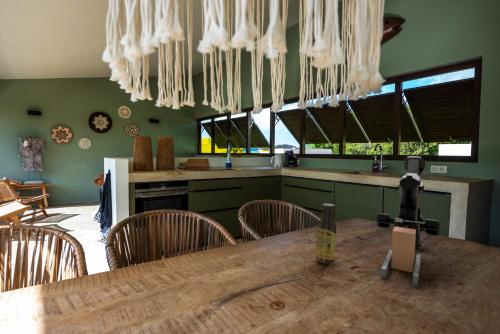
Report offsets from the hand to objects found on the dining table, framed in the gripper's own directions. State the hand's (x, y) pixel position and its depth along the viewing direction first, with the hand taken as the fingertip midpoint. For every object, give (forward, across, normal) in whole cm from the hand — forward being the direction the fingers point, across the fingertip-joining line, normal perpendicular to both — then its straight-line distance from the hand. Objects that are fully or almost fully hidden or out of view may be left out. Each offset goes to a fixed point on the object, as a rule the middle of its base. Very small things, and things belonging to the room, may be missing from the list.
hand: (404, 245), depth 91 cm
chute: (+9, 0, -1) cm, 9 cm away
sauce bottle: (+13, +23, +2) cm, 26 cm away
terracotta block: (+7, 0, -2) cm, 7 cm away
